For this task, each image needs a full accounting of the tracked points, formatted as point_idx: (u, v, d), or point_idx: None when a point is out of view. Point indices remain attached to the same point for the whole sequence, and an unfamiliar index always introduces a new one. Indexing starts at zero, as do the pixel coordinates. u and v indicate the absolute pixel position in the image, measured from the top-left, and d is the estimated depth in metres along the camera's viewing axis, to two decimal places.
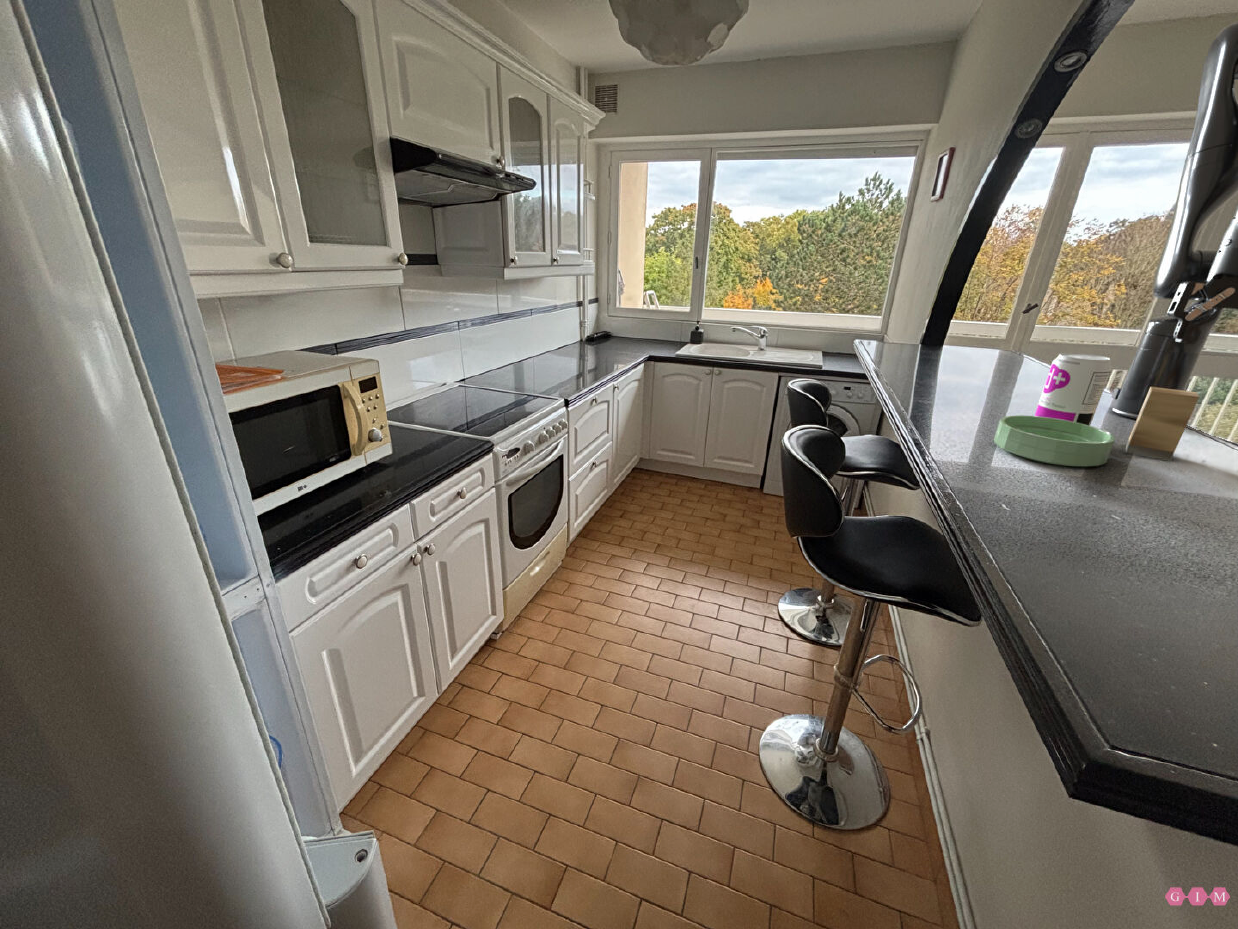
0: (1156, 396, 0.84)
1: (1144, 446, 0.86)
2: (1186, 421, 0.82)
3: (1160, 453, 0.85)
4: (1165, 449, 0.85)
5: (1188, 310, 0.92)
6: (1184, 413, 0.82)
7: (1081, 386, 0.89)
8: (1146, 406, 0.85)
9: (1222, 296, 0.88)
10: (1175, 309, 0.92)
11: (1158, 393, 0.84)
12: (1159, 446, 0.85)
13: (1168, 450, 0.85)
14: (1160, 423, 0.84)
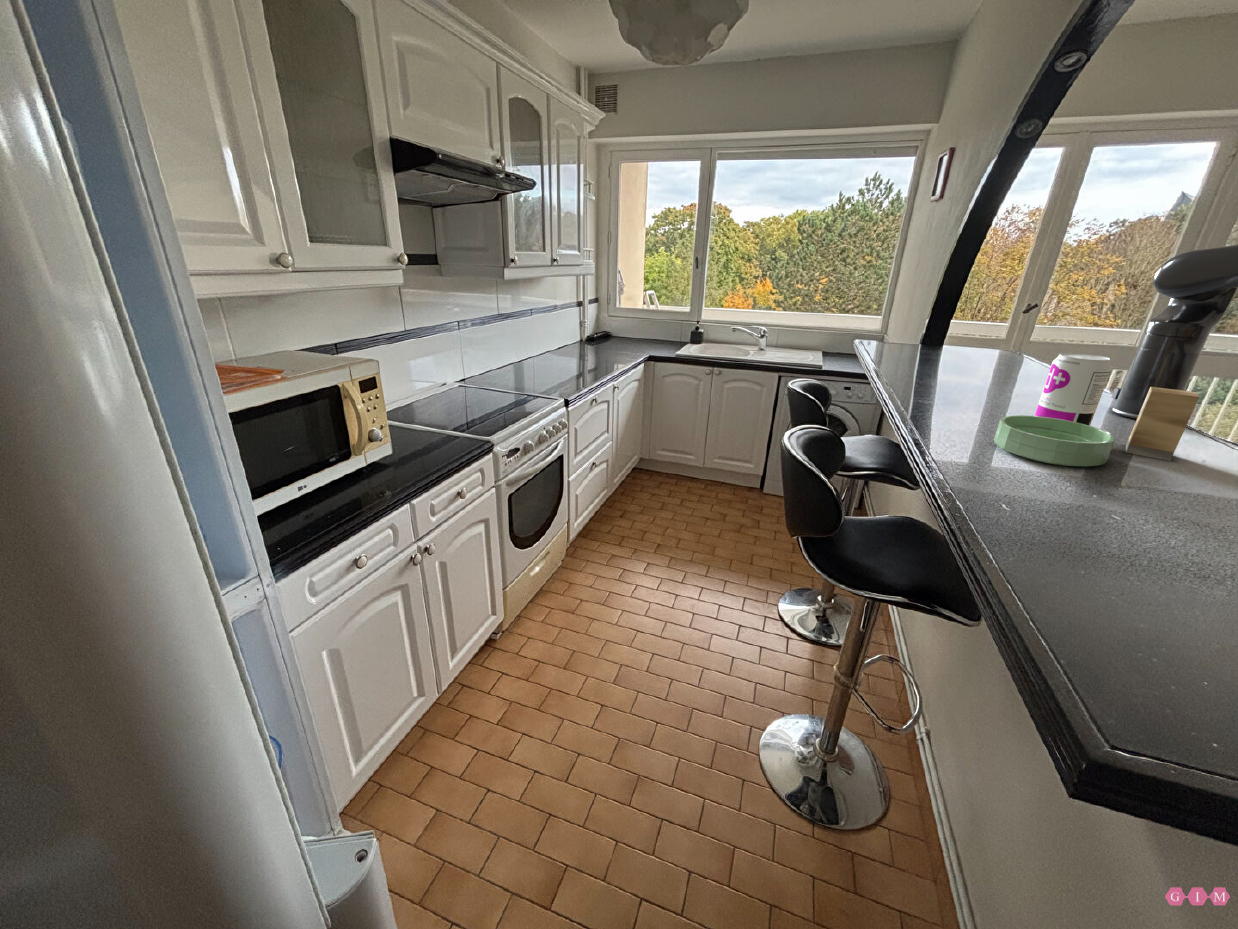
0: (1156, 396, 0.84)
1: (1144, 446, 0.86)
2: (1186, 421, 0.82)
3: (1160, 453, 0.85)
4: (1165, 449, 0.85)
5: None
6: (1184, 413, 0.82)
7: (1081, 386, 0.89)
8: (1146, 406, 0.85)
9: None
10: None
11: (1158, 393, 0.84)
12: (1159, 446, 0.85)
13: (1168, 450, 0.85)
14: (1160, 423, 0.84)
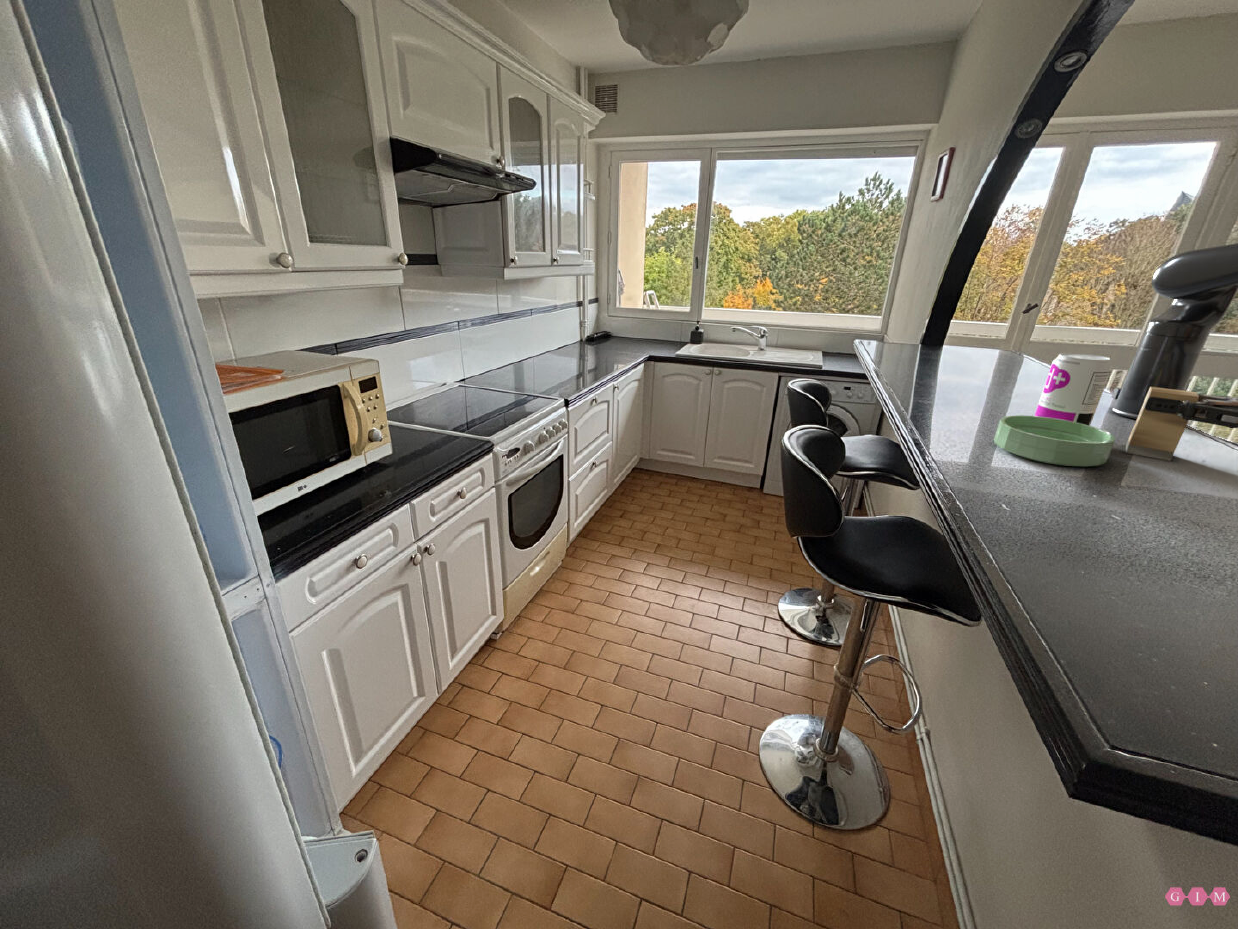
0: (1156, 396, 0.84)
1: (1144, 446, 0.86)
2: (1186, 421, 0.82)
3: (1160, 453, 0.85)
4: (1165, 449, 0.85)
5: None
6: None
7: (1081, 386, 0.89)
8: None
9: None
10: None
11: (1158, 393, 0.84)
12: (1159, 446, 0.85)
13: (1168, 450, 0.85)
14: (1160, 423, 0.84)
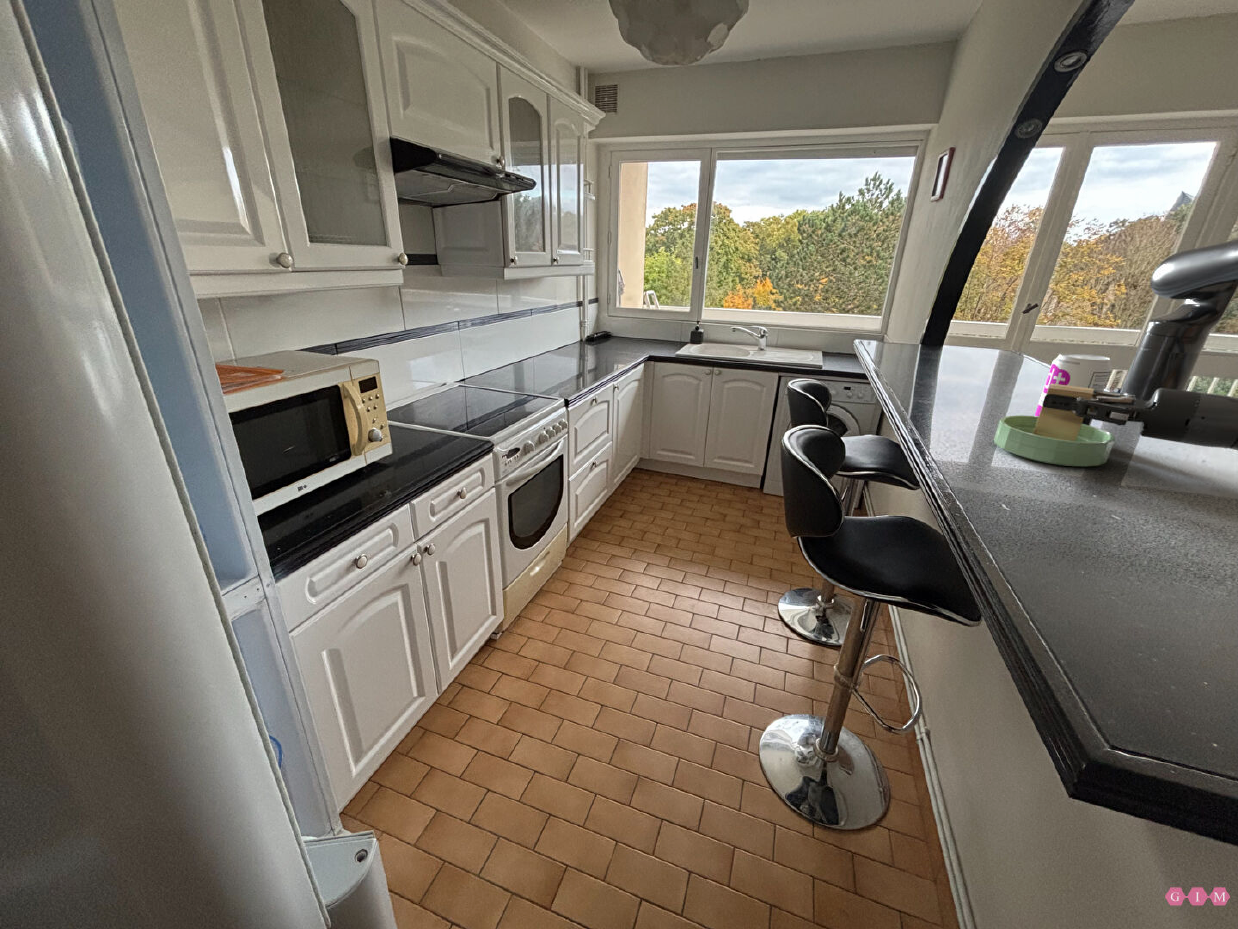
0: (1052, 393, 0.82)
1: None
2: (1081, 418, 0.81)
3: None
4: None
5: None
6: None
7: (1081, 386, 0.89)
8: None
9: None
10: None
11: (1055, 390, 0.82)
12: None
13: None
14: (1058, 421, 0.83)
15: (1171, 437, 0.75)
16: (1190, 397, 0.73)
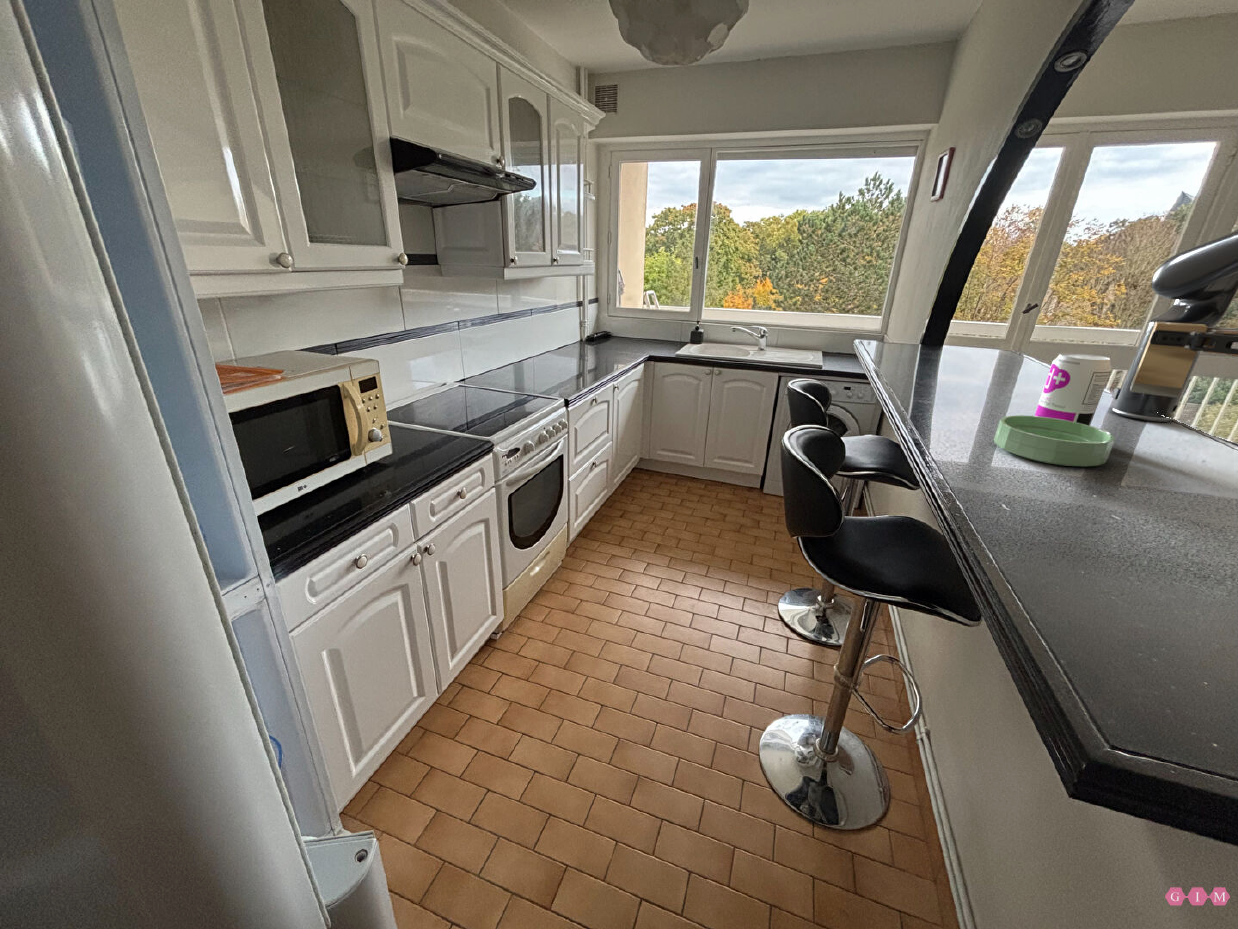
0: (1161, 329, 0.80)
1: (1149, 383, 0.82)
2: (1194, 354, 0.78)
3: (1167, 390, 0.81)
4: (1172, 385, 0.81)
5: None
6: None
7: (1081, 386, 0.89)
8: None
9: (1229, 354, 0.76)
10: (1201, 350, 0.76)
11: (1164, 325, 0.80)
12: (1165, 382, 0.81)
13: (1175, 386, 0.80)
14: (1167, 358, 0.80)
15: None
16: None
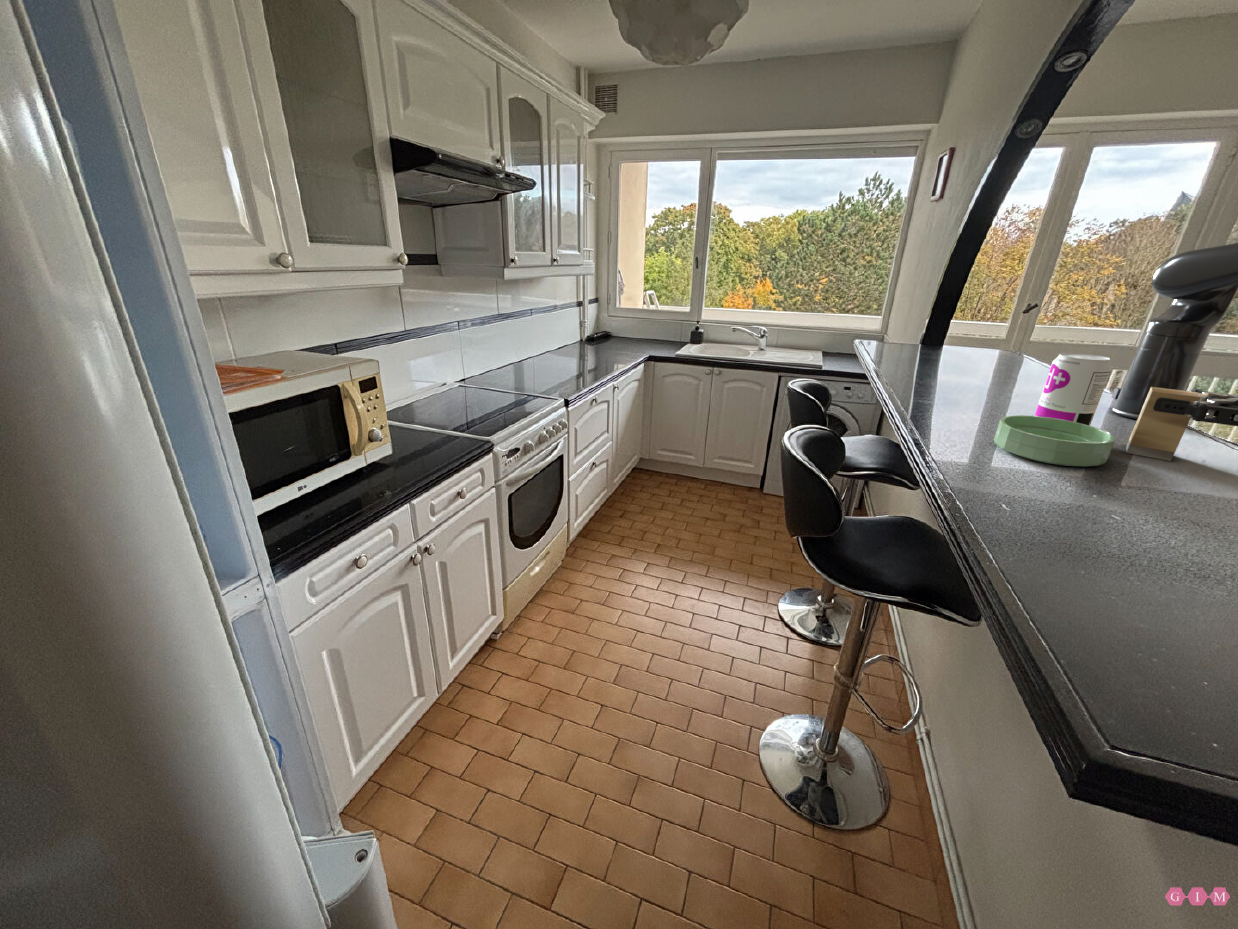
0: (1156, 396, 0.84)
1: (1145, 446, 0.86)
2: (1187, 421, 0.82)
3: (1161, 453, 0.85)
4: (1166, 449, 0.85)
5: None
6: None
7: (1081, 386, 0.89)
8: (1147, 406, 0.85)
9: None
10: (1203, 420, 0.78)
11: (1159, 393, 0.83)
12: (1160, 446, 0.85)
13: (1169, 450, 0.84)
14: (1161, 423, 0.84)
15: None
16: None
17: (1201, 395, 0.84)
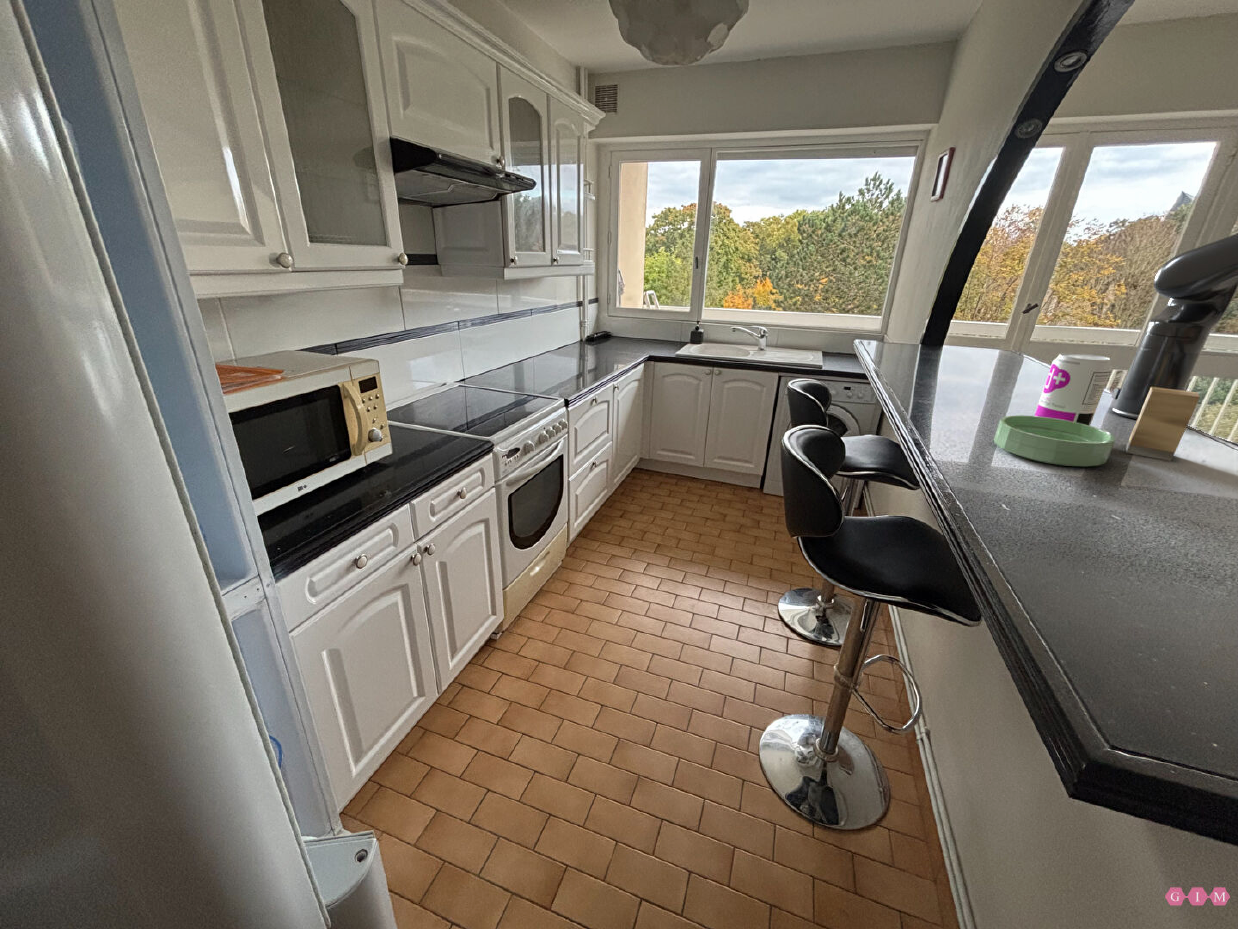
0: (1156, 396, 0.84)
1: (1145, 446, 0.86)
2: (1187, 421, 0.82)
3: (1161, 453, 0.85)
4: (1166, 449, 0.85)
5: None
6: (1185, 413, 0.82)
7: (1081, 386, 0.89)
8: (1147, 406, 0.85)
9: None
10: None
11: (1159, 393, 0.83)
12: (1160, 446, 0.85)
13: (1169, 450, 0.84)
14: (1161, 423, 0.84)
15: None
16: None
17: None
